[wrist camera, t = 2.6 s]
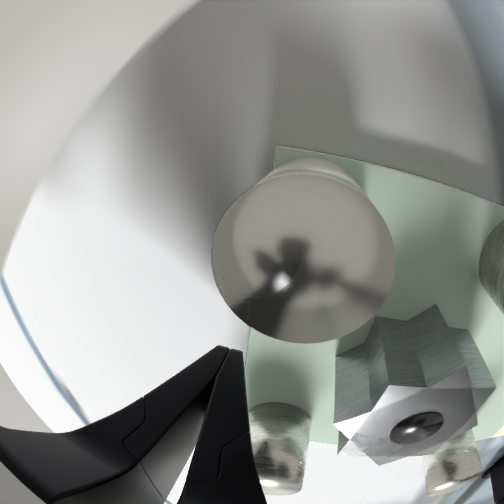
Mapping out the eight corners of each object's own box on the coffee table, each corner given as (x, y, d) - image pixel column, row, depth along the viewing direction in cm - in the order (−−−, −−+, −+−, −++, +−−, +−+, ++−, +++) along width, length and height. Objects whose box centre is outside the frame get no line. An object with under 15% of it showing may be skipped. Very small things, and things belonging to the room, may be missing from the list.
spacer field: (606, 263, 4) (641, 298, 1) (495, 436, 10) (505, 477, 7) (264, 145, 7) (218, 154, 4) (230, 423, 13) (209, 480, 9)
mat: (616, 270, 4) (623, 276, 4) (525, 421, 10) (527, 429, 9) (278, 145, 8) (275, 146, 7) (240, 414, 13) (236, 426, 13)
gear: (492, 313, 7) (526, 368, 5) (427, 410, 10) (436, 463, 7) (360, 289, 8) (371, 359, 5) (315, 400, 11) (307, 462, 8)
